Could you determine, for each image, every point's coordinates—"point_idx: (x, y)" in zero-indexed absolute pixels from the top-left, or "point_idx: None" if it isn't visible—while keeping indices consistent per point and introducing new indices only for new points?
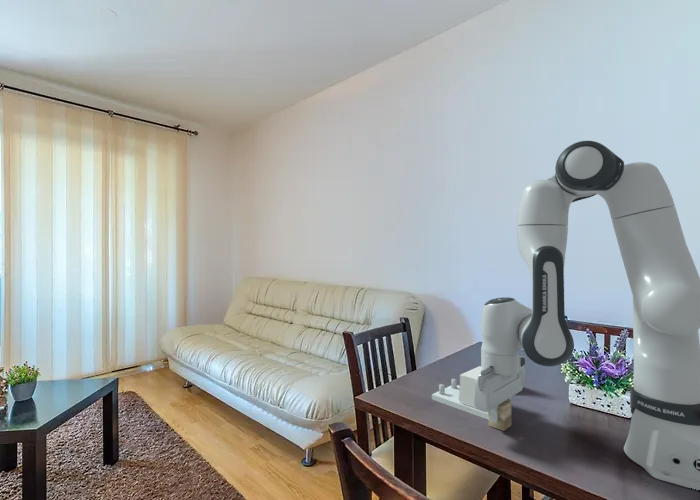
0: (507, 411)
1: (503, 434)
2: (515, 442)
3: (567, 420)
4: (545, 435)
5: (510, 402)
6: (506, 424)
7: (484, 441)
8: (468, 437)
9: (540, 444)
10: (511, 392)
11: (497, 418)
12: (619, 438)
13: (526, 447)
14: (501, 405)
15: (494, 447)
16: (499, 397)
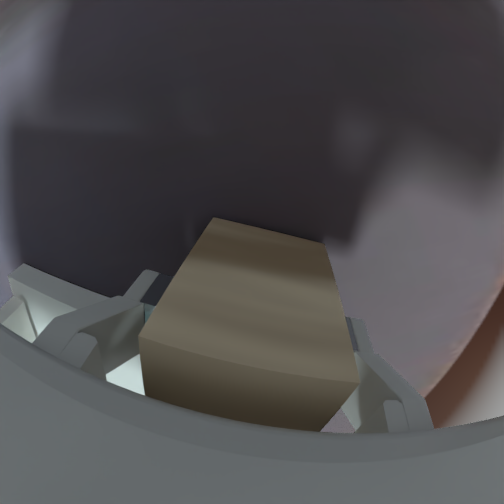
0: (267, 306)
1: (358, 239)
2: (424, 162)
3: (8, 28)
4: (213, 7)
5: (164, 343)
6: (289, 250)
7: (457, 302)
8: (436, 355)
9: (366, 21)
10: (55, 428)
11: (360, 332)
12: None
13: (447, 101)
14: (334, 403)
15: (492, 254)
16: (461, 499)
